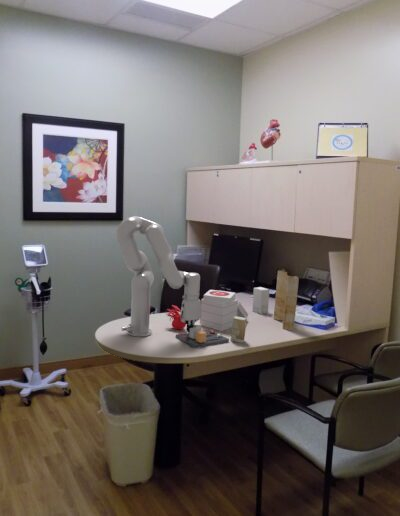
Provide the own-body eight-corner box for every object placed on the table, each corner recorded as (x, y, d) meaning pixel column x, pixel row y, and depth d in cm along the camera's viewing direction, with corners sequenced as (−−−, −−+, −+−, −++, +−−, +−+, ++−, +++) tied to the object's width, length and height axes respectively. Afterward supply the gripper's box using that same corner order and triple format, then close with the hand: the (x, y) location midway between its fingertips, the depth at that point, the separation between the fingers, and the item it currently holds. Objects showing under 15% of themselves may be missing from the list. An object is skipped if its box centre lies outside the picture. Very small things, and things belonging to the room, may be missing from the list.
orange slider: (200, 342, 230) (200, 333, 229) (195, 340, 233) (196, 331, 232) (205, 341, 232) (206, 332, 231) (201, 339, 235) (202, 330, 234)
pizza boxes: (250, 321, 278) (253, 291, 276) (222, 332, 254) (225, 299, 251) (223, 314, 289) (225, 285, 286) (193, 324, 265) (196, 293, 262)
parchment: (295, 330, 266) (300, 278, 262) (284, 330, 265) (289, 277, 261) (282, 318, 289) (287, 270, 284) (272, 318, 288) (277, 269, 283)
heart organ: (177, 333, 248) (179, 311, 246) (163, 327, 256) (164, 305, 255) (191, 330, 254) (193, 308, 253) (177, 324, 263) (179, 303, 261)
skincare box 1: (230, 341, 241) (232, 317, 239) (232, 338, 245) (234, 315, 244) (242, 343, 239) (244, 319, 237) (244, 340, 243) (246, 317, 241)
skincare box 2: (268, 313, 298) (270, 289, 295) (260, 314, 294) (262, 290, 292) (259, 310, 305) (261, 286, 302) (251, 311, 301) (253, 287, 299)
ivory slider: (195, 334, 243) (195, 325, 242) (191, 332, 246) (192, 323, 245) (200, 333, 245) (201, 324, 244) (197, 331, 248) (197, 322, 247)
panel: (194, 348, 228) (194, 343, 227) (175, 337, 241) (175, 332, 241) (228, 342, 240) (229, 337, 239) (209, 332, 253) (209, 327, 253)
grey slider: (193, 338, 235) (193, 330, 234) (189, 336, 238) (189, 328, 237) (198, 338, 237) (199, 329, 236) (195, 335, 240) (195, 327, 239)
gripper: (182, 300, 232) (181, 336, 235) (207, 297, 241) (205, 332, 244) (175, 296, 239) (173, 331, 241) (199, 294, 247) (197, 328, 250)
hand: (189, 332), depth 243 cm, fingers closed
